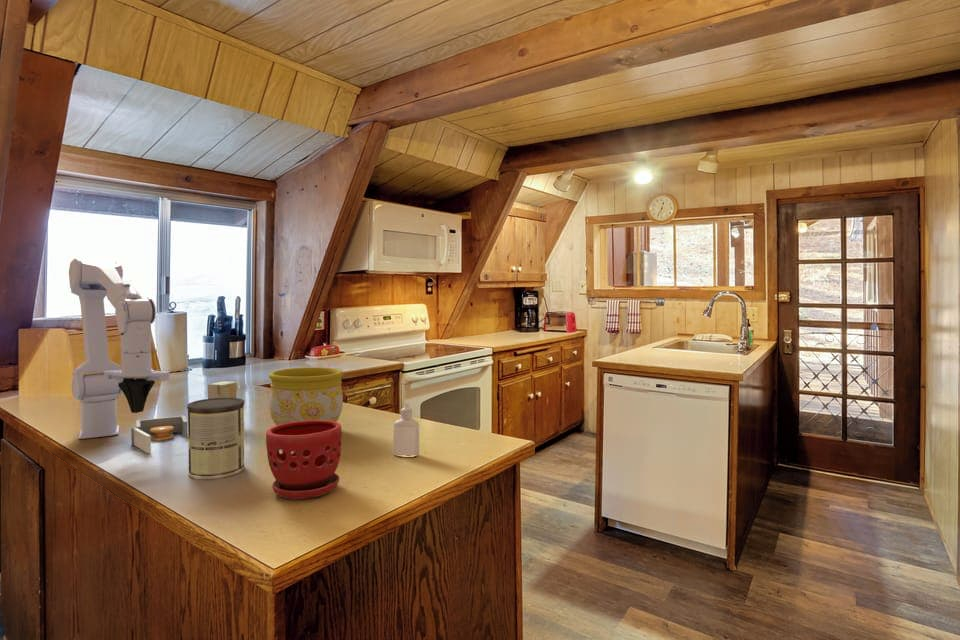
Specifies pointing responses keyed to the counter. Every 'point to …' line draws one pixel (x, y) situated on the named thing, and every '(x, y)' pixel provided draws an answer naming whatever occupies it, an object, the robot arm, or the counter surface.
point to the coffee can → (216, 437)
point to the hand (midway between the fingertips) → (137, 411)
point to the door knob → (162, 432)
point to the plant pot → (304, 457)
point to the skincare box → (222, 390)
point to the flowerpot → (305, 394)
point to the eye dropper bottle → (406, 434)
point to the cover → (141, 439)
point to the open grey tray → (164, 424)
